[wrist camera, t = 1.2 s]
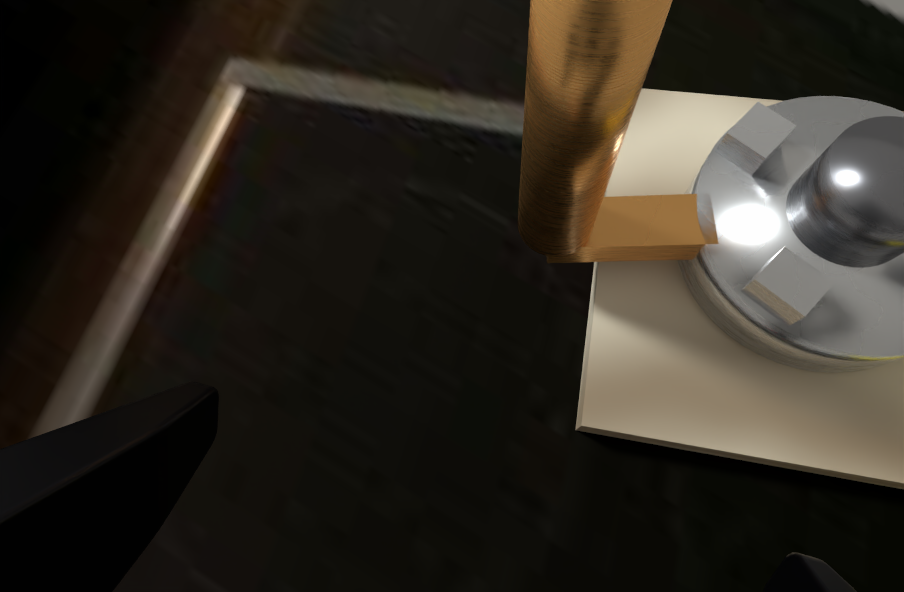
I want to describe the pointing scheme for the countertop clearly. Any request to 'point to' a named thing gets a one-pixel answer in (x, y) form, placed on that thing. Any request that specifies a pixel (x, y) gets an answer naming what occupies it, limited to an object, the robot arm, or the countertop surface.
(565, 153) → the disc with rod
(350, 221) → the countertop surface
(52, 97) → the countertop surface
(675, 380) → the flange board
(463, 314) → the countertop surface
